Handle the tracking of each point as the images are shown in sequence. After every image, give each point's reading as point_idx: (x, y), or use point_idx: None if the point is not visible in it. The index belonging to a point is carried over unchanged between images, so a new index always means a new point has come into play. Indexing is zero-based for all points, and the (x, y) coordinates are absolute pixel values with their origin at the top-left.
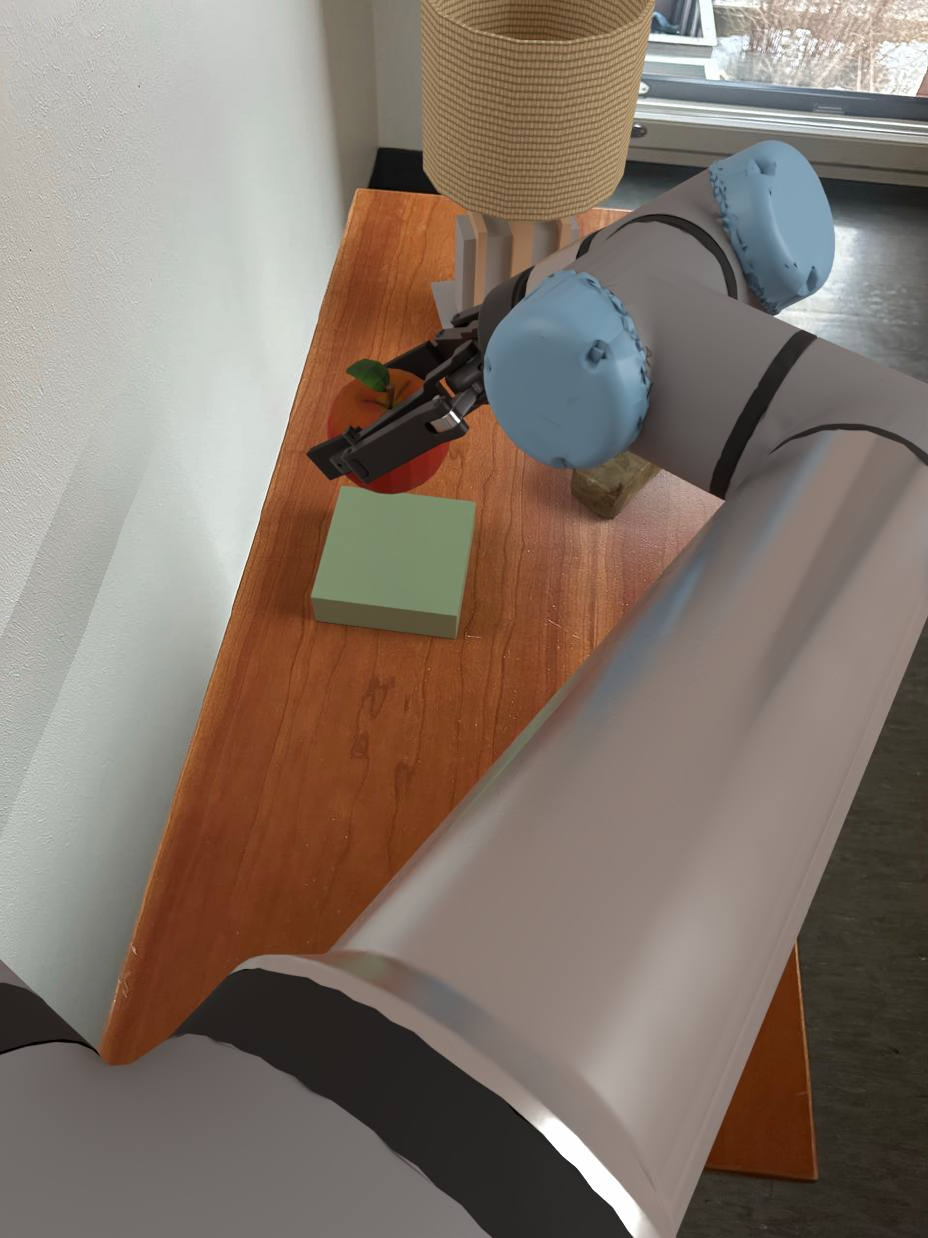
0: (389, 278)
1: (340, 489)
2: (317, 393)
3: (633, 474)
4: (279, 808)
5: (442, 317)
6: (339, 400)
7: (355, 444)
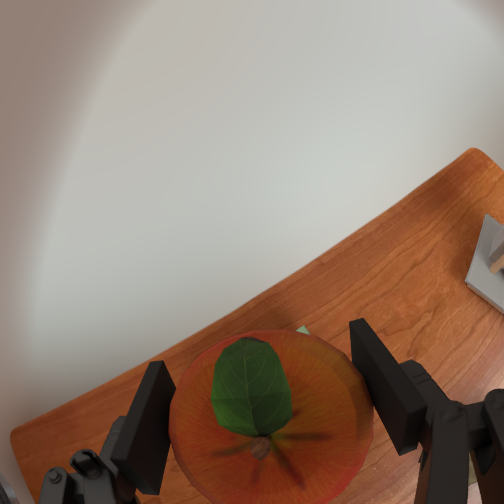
0: (465, 191)
1: (299, 328)
2: (370, 229)
3: (473, 481)
4: (97, 448)
5: (479, 242)
6: (211, 358)
7: (64, 486)
